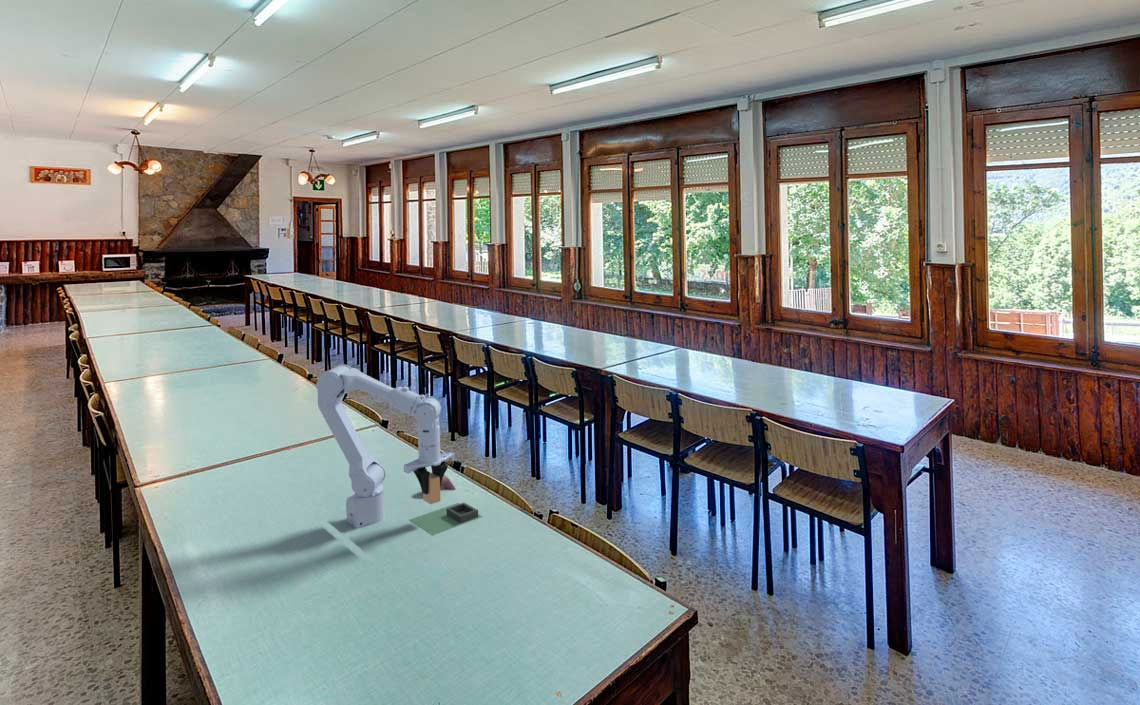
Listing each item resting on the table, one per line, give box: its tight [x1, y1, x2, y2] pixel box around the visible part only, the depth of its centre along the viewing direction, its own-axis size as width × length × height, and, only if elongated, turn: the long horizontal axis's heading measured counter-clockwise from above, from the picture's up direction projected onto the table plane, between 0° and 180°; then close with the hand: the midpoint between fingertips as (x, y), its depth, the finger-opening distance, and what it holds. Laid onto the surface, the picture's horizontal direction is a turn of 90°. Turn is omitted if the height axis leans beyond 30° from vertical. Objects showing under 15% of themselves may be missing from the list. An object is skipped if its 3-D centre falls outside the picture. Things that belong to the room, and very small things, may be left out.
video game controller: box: [440, 474, 456, 492], centre depth 186 cm, size 10×5×7 cm, turn 141°
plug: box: [422, 472, 441, 505], centre depth 166 cm, size 3×4×7 cm
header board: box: [409, 502, 483, 536], centre depth 168 cm, size 16×12×3 cm
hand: (431, 491), depth 166 cm, fingers closed on plug, 3 cm apart
